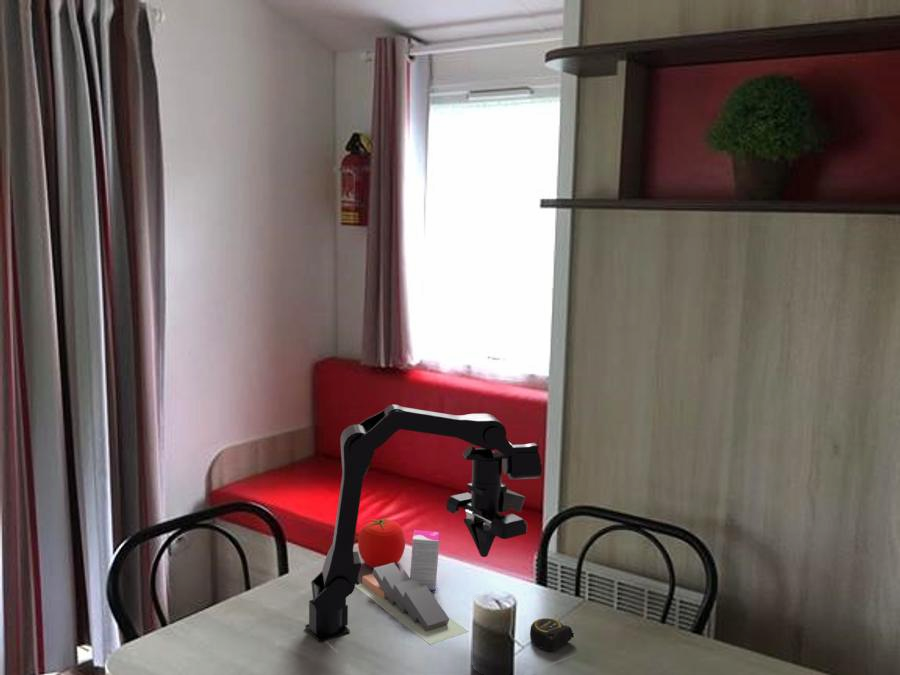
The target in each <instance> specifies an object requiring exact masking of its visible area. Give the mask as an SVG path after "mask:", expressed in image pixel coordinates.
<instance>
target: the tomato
mask: <svg viewBox="0 0 900 675" xmlns="http://www.w3.org/2000/svg"><path fill="white" fill-rule="evenodd" d="M370 520H372V521H370V522H368V523H366V524H364V525H363V526H362V528H361V529H360V532H359V534H358V539H357V548H358V554H359V556H360V559H362V560H363V562H364V563H365V564H366V565H367V566H369V567H370V568H373V569H374V568H375V567H379V566H383V565H387V564H391V563H395V565H396V564H398V563H399V562H400V561H401V559H402V558H403V555H404V553H405V549H406V539H405V534H404V532H403V529H402V527H401V525H400V524H399V523H398V522H397V521H395V520H393V519H392V520H391V519H387V517H385V518H382V519H372V518H370Z"/></svg>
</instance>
